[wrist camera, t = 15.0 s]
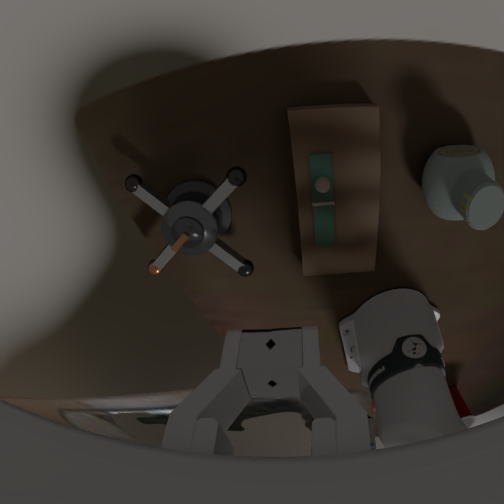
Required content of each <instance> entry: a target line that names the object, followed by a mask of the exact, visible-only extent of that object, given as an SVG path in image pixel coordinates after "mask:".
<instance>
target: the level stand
mask: <svg viewBox="0 0 504 504" xmlns="http://www.w3.org/2000/svg"><path fill="white" fill-rule="evenodd" d="M287 113H288V121H289V129H290V137H291V146H292V155H293V164H294V173H295V183H296V193H297V203H298V214H299V226H300V238H301V251H302V265H303V276H315V275H329V274H341V273H354V272H366V271H375V261H376V250H377V237H378V223H379V203H380V161H381V154H380V112H379V106H377V105H375V104H373V103H358V104H329V105H312V106H299V107H287Z"/></svg>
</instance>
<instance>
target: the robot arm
mask: <svg viewBox="0 0 504 504" xmlns="http://www.w3.org/2000/svg"><path fill="white" fill-rule="evenodd" d="M439 318H440V312H439V310H438V309H437V308H435V307H433V306H431V305H430V304H429V302H428V300H427V298H426V297H425V296H424V295H423V294H422V293H420V292H418V291H416V290H412V289H393V290H389V291H386V292H383V293H380V294H378V295H376V296H374V297H372V298H371V299H369V300H368V301H366V302H365V303H364V304H363V305H362V306H361V307H360V308H359V309H358V310H357V311H356V312H355V313H354V314H352V315H350V316H348V317H346V318H345V319H343V320H342V321H340V322H339V329H340V334H341V338H342V343H343V347H344V352H345V356H346V361H347V365H348V369H349V370H350V371H352V372H357V373H360V378H361V383H362V384H363V385H364V386H367V387H368V390H369V393H370V395H371V398H372V409H373V411H375V410H376V416H377V423H378V431H379V438H380V440H381V442H382V444H383V445H384V446H385V447H386V448H383V449H376V450H371V445H370V435H369V426H368V417H367V412H366V411H365V410H364V409H363V408H362V407H361V406H360V404H359V403H358V402H357V401H356V400H355V399H354V398H353V397H352V396H351V394H350V393H349V392H348V391H347V390H346V389H345V388H344V387H343V386H342V384H341V383H340V382H339V381H338V380H337V379H336V378H335V377H334V375H333V374H332V373H331V372H330V371H329V370H328V369H327V368H326V366H321V365H320V350H319V336H318V327H317V326H309V327H292V328H276V329H253V330H228V331H227V333H226V337H225V342H224V348H223V353H222V358H221V364H220V368H219V369H215V370H214V371H213V372H212V373H211V374H210V375H209V376H208V377H207V378H206V379H205V380H204V381H203V382H202V383H201V384H200V385H199V386H198V387H197V388H196V389H195V390H194V391H193V392H192V393H191V394H190V395H189V396H187V397H186V398H185V399H184V400H183V401H182V402H181V403H180V404H179V405H178V406H177V407H176V408H175V409H174V410H173V411H172V412H171V413H170V415H169V419H168V423H167V427H166V430H165V434H164V438H163V442H162V446H161V447H155V446H149V445H143V444H139V443H134V442H129V441H125V440H120V439H116V438H112V437H108V436H104V435H100V434H96V433H93V432H89V431H86V430H82V429H79V428H75V427H72V426H69V425H66V424H63V423H60V422H57V421H54V420H51V419H48V418H46V417H43V416H40V415H37V414H35V413H32V412H30V411H27V410H25V409H22V408H20V407H17V406H15V405H13V404H10V403H8V402H6V401H4V400H2V399H0V504H504V416H503V417H501V418H498V419H495V420H493V421H490V422H487V423H484V424H481V425H478V426H475V427H472V428H469V429H468V428H467V427H466V425H465V424H464V423H463V421H462V420H461V418H460V416H459V414H458V412H457V410H456V407H455V404H454V402H453V399H452V396H451V394H450V391H449V388H448V385H447V382H446V378H445V377H446V369H445V363H444V360H443V358H442V356H441V352H442V349H443V348H444V344H443V340H442V337H441V333H440V330H439V326H438V323H437V321H438V319H439ZM259 397H300V399H301V400H302V402H303V403H304V405H305V406H306V407H307V409H308V410H309V412H310V413H311V415H312V416H313V418H314V419H315V420H314V421H313V422H312V445H311V456H301V457H251V456H234V447H233V445H232V444H231V442H230V441H229V439H228V437H227V436H226V434H225V431H226V430H227V429H228V428H229V427H230V425H231V424H232V423H233V422H234V420H235V419H236V418H237V416H238V415H239V414H240V412H241V411H242V410H243V409H244V407H245V406H246V405H247V403H248V402H249V401H250V398H259Z"/></svg>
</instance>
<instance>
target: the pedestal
mask: <svg viewBox="0 0 504 504" xmlns="http://www.w3.org/2000/svg"><path fill="white" fill-rule="evenodd" d="M216 188H217V187H216V186H214V185H213V184H211V183H208V182H205V181H200V180H190V181H186V182H183V183H181V184H179V185H177V186H176V187H175V188H174V189H173V190H172V191H171V192H170V194H169V195H168V196H167V199H168V200H169V201H171V202H172V203H173V201H174V200H175V199H176V198H177V197H178V196H179V195H181V194H183V193H186V192H191V191H195V192H201V193H204V194H206V195H208V196H210V194H211V193H212V192H213V191H214V190H215V189H216ZM219 207H220V209H221V212H222V224H221V227H220V230H219V233H218V236H217V237H218V238H219V239H220V238H221V237H222V236H223V235H224V234H225V233H226V231H227V230H228V228H229V225H230V221H231V217H232V211H231V206H230V203H229V200H228V199H227V198H226V199H225V200H224V201H223V202H222V203H221V204H220V205H219Z"/></svg>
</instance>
